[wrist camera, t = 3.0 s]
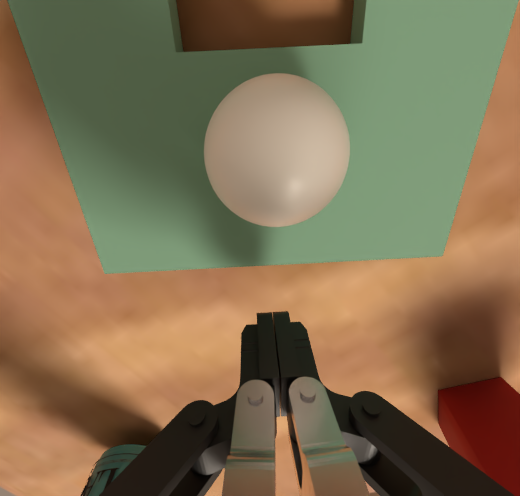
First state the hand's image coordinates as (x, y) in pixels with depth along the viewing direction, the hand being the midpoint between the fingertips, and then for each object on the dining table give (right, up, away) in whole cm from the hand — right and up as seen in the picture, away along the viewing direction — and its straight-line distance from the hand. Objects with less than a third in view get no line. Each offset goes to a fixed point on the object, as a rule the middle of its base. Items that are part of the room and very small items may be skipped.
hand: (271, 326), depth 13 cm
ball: (0, +7, -3) cm, 8 cm away
